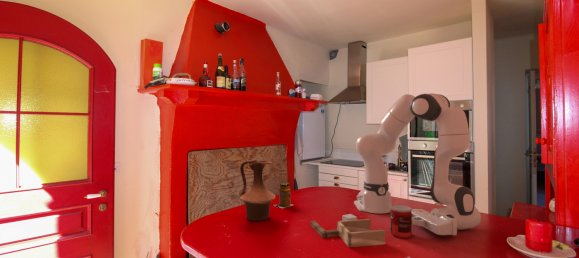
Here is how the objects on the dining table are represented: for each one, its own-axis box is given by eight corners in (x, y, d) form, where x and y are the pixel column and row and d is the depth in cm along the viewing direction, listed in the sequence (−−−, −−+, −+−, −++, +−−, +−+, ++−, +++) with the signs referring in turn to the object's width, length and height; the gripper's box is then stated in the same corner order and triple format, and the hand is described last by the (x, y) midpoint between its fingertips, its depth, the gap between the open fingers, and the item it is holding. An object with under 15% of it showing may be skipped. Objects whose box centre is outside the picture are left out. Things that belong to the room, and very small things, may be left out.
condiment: (293, 205, 153) (293, 183, 152) (282, 208, 147) (282, 186, 146) (284, 202, 158) (284, 181, 158) (273, 205, 152) (273, 184, 152)
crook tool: (310, 225, 122) (310, 221, 122) (325, 223, 124) (325, 219, 124) (322, 238, 109) (322, 233, 109) (339, 236, 110) (339, 231, 110)
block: (342, 225, 122) (342, 215, 122) (350, 223, 124) (350, 213, 123) (348, 229, 118) (348, 218, 118) (357, 227, 119) (357, 216, 119)
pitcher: (236, 224, 124) (235, 162, 124) (241, 212, 141) (240, 157, 141) (275, 223, 125) (274, 161, 124) (276, 211, 142) (275, 157, 141)
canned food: (396, 229, 116) (396, 203, 116) (415, 235, 110) (415, 207, 110) (386, 234, 111) (386, 207, 111) (406, 240, 105) (405, 211, 105)
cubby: (337, 233, 113) (336, 221, 113) (369, 230, 115) (369, 218, 115) (348, 247, 100) (348, 233, 100) (385, 244, 102) (384, 230, 102)
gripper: (424, 204, 123) (395, 206, 121) (459, 220, 103) (426, 223, 101) (424, 218, 124) (395, 220, 121) (459, 237, 103) (426, 240, 101)
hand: (409, 221), depth 111 cm, fingers closed, pressing on canned food
